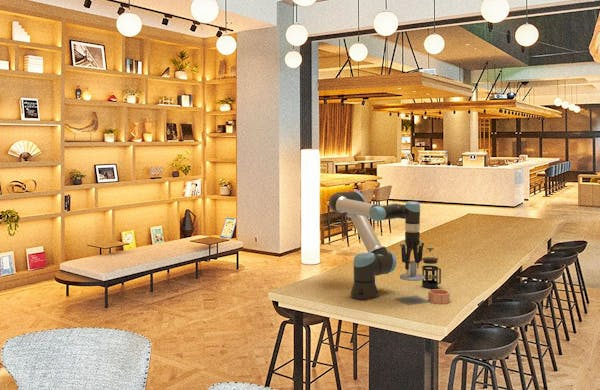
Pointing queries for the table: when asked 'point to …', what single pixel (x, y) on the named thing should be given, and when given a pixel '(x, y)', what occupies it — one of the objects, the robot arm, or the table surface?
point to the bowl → (439, 296)
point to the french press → (430, 283)
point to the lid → (412, 274)
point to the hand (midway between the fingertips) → (411, 275)
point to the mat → (412, 300)
